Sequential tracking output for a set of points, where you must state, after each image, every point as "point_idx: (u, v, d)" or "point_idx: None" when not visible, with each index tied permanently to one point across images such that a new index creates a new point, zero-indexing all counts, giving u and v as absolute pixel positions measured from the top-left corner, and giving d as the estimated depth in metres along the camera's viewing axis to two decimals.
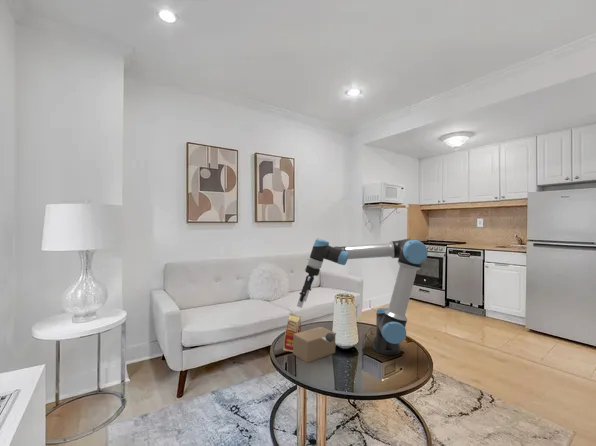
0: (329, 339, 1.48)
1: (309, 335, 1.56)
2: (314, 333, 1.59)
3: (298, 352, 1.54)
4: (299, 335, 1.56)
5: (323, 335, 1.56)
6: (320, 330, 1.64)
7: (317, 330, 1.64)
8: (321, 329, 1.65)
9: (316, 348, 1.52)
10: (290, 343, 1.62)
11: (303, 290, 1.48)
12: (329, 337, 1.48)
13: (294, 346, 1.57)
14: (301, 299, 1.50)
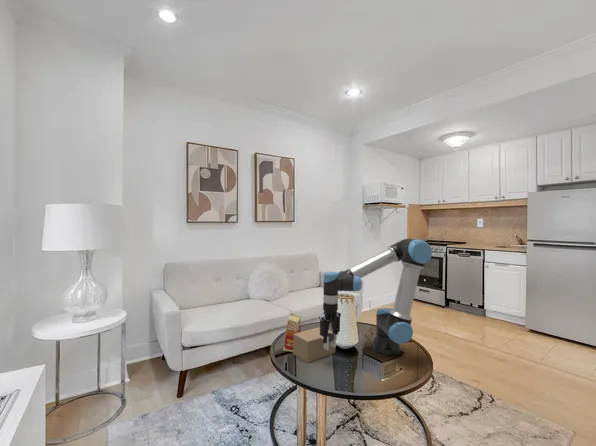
0: (329, 339, 1.48)
1: (309, 335, 1.56)
2: (314, 333, 1.59)
3: (298, 352, 1.54)
4: (299, 335, 1.56)
5: None
6: None
7: (317, 330, 1.64)
8: None
9: (316, 348, 1.52)
10: (290, 343, 1.62)
11: (321, 331, 1.46)
12: (329, 337, 1.48)
13: (294, 346, 1.57)
14: (324, 340, 1.47)
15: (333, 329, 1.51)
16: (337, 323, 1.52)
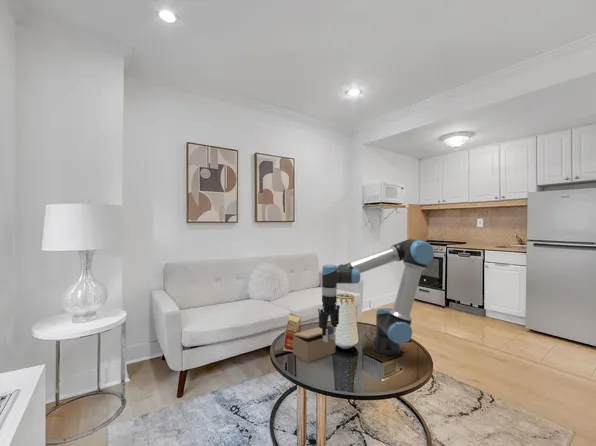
0: (328, 331, 1.48)
1: (309, 333, 1.56)
2: (314, 331, 1.59)
3: (298, 352, 1.54)
4: (299, 334, 1.56)
5: None
6: (320, 328, 1.64)
7: (317, 329, 1.64)
8: (320, 328, 1.65)
9: (316, 348, 1.52)
10: (290, 343, 1.62)
11: (320, 324, 1.47)
12: None
13: (294, 346, 1.57)
14: (323, 333, 1.48)
15: (332, 321, 1.52)
16: (336, 315, 1.53)
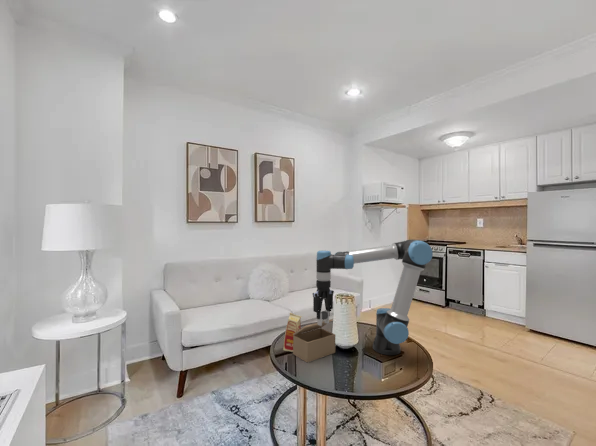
0: (323, 315, 1.52)
1: (307, 327, 1.58)
2: (312, 326, 1.60)
3: (298, 352, 1.54)
4: (298, 331, 1.57)
5: None
6: (318, 325, 1.65)
7: (316, 326, 1.65)
8: (319, 325, 1.66)
9: (316, 348, 1.52)
10: (290, 343, 1.62)
11: (314, 308, 1.51)
12: (322, 313, 1.52)
13: (294, 346, 1.57)
14: (317, 317, 1.51)
15: (326, 306, 1.56)
16: (330, 300, 1.57)
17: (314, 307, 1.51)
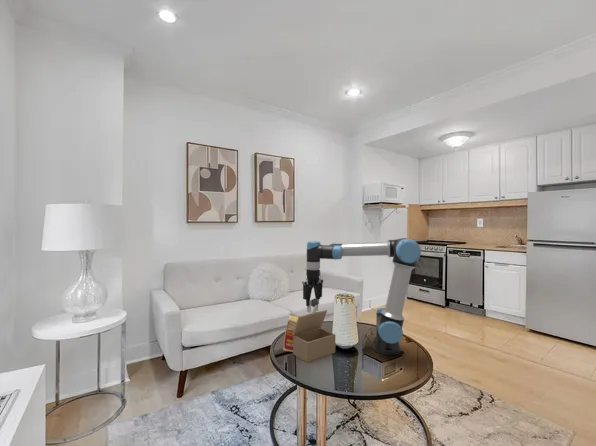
0: (313, 301, 1.58)
1: None
2: None
3: (298, 352, 1.54)
4: None
5: None
6: None
7: None
8: None
9: (316, 348, 1.52)
10: (290, 343, 1.62)
11: (304, 295, 1.58)
12: (311, 300, 1.59)
13: (294, 346, 1.57)
14: (306, 304, 1.59)
15: (316, 294, 1.63)
16: (319, 289, 1.64)
17: (304, 295, 1.58)
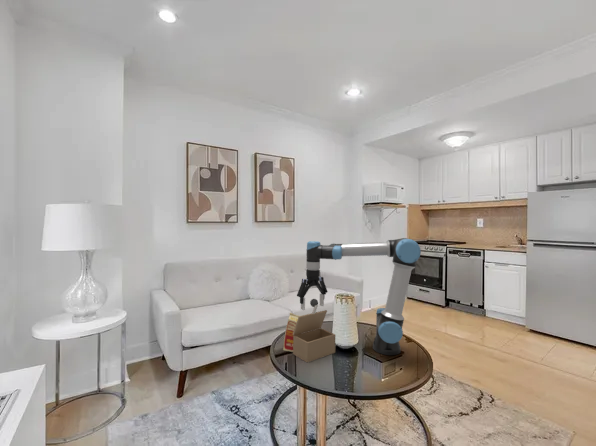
0: (312, 301, 1.58)
1: None
2: None
3: (298, 352, 1.54)
4: None
5: None
6: None
7: None
8: None
9: (316, 348, 1.52)
10: (290, 343, 1.62)
11: (298, 292, 1.56)
12: (311, 300, 1.59)
13: (294, 346, 1.57)
14: (300, 301, 1.56)
15: (320, 291, 1.65)
16: (323, 286, 1.65)
17: (299, 292, 1.56)
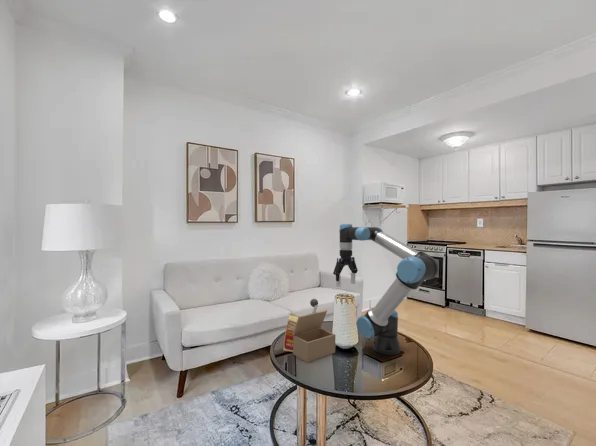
0: (312, 301, 1.58)
1: None
2: None
3: (298, 352, 1.54)
4: None
5: None
6: None
7: None
8: None
9: (316, 348, 1.52)
10: (291, 343, 1.62)
11: (335, 270, 1.68)
12: (311, 300, 1.59)
13: (294, 346, 1.57)
14: (336, 279, 1.68)
15: (352, 270, 1.78)
16: (354, 265, 1.79)
17: (335, 270, 1.68)
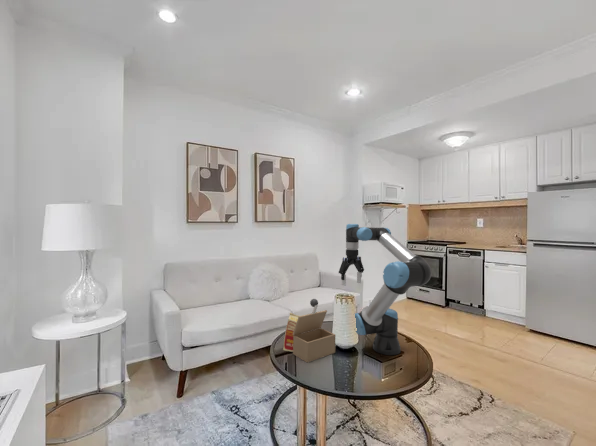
0: (312, 301, 1.58)
1: None
2: None
3: (298, 352, 1.54)
4: None
5: None
6: None
7: None
8: None
9: (316, 348, 1.52)
10: (290, 343, 1.62)
11: (340, 269, 1.72)
12: (311, 300, 1.59)
13: (294, 346, 1.57)
14: (342, 278, 1.72)
15: (358, 269, 1.81)
16: (360, 265, 1.81)
17: (340, 269, 1.72)
